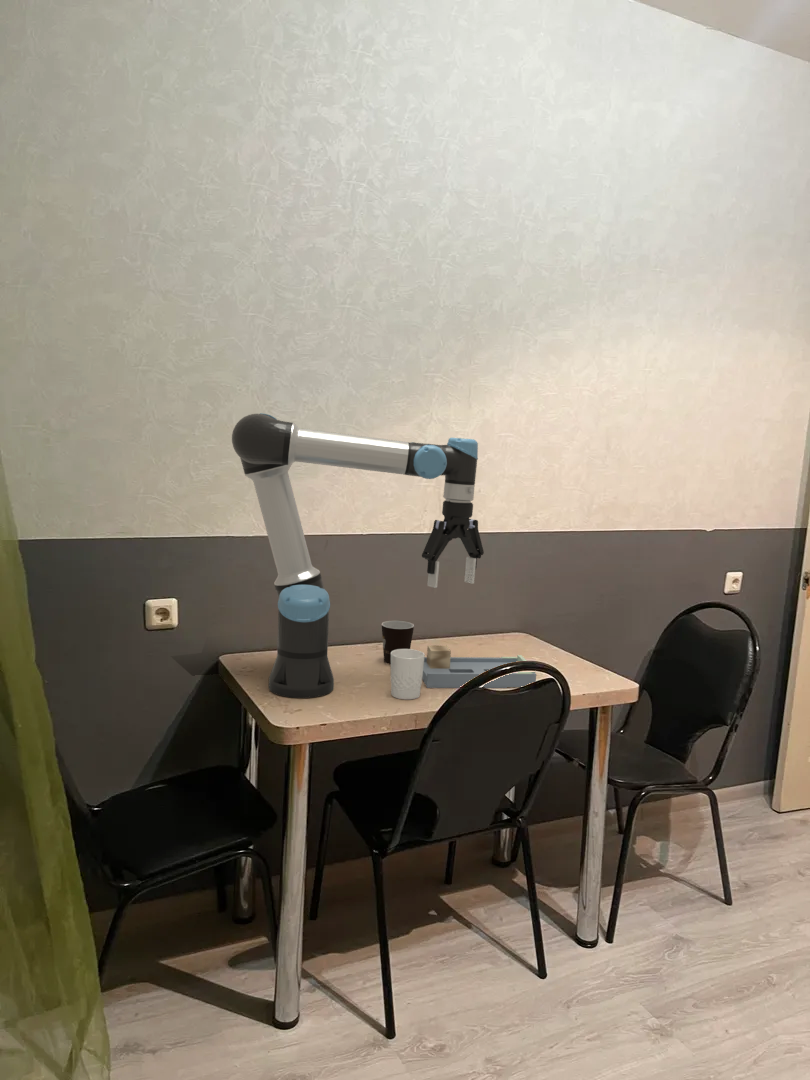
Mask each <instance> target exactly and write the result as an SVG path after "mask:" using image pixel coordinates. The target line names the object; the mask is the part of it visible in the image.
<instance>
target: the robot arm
mask: <svg viewBox="0 0 810 1080" xmlns="http://www.w3.org/2000/svg"><path fill="white" fill-rule="evenodd" d="M232 430H233V431H232V434H231V443H232V448H233V449H234V452H235V454H237V456H238V457H239V458H240V461H241V462H240V463H241V466H242V469H243V472H244V476H245V477H247V478H249V480H251V481H252V482H253V485H254V488H255V489H254V490H255V493H256V496H257V500H258V504H259V507H260V512H261V515H262V519H263V523H264V526H265V530H266V534H267V538H268V541H269V546H270V549H271V553H272V557H273V560H274V565H275V567H276V572H277V577H276V579H275V581H274V582H273V583H274V584H273V585H274V588H275V593H276V595H277V599H278V601H277V608H278V617H277V619H278V621H277V622H278V623H277V648H276V649H277V650H276V652H277V654H276V658H275V660H274V663H273V666H272V668H271V671H270V674H269V676H268V677H269V678H268V690H269V691H270V692H272V693H273V694H275V695H279V696H281V697H287V698H294V699H308V698H309V699H310V698H317V697H322V696H327V695H329V694H330V693H331V692H333V690H334V687H335V686H334V684H335V679H334V675H333V671H332V668H331V664H330V662H329V661H330V660H329V657H328V647H329V645H328V644H329V623H330V621H329V619H330V608H331V602H330V595H329V593H328V591H327V590H326V589H325V586H324V582H323V578H322V574H321V571H320V569H318V568H317V567H314V565H312V561H311V560H312V559H311V557H310V551H309V549H308V546H307V540H306V538H305V533H304V529H303V524H302V522H301V519H300V518H301V517H300V514H299V510H298V506H297V502H296V497H295V495H294V491H293V486H292V484H291V478H290V476H289V470H290V468H291V467H292V465H293V463H295V462H297V463H305V464H314V465H322V466H330V467H339V468H345V469H346V468H347V469H355V470H363V471H370V472H371V471H372V472H379V473H388V474H395V475H405V476H410V477H411V476H412V477H418V478H422V479H426V480H433V479H435V478H436V479H437V478H438V477H440V476H443V477H444V487H443V494H442V495H443V498H444V499H445V500H443V502H442V511H441V514H442V516H443V517H444V519H443V520H439V519H435V520H433V527H432V530H431V533H430V535H429V537H428V539H427V541H426V544H425V547H424V548H423V551H422V554H421V557H422V558H424V559H425V560H427V570H426V572H427V583H426V586H427V587H430V588H433V589H436V588H438V583H439V572H440V571H439V570H440V561H438V559H439V558H440V556H441V555H442V553H443V552H444V550H445V548H447V545H448V544H449V543H450V541H452V540H453V539H460V541H461V542H462V545H463V546H464V548H465V550H466V553H467V554H468V556H466V557H465V566H464V567H465V568H464V569H465V570H464V580H463V581H464V583H469V584H475V577H476V570H477V563H478V559H481V558H482V556H483V555H484V554H485V553H484V552H485V551H484V548H483V544H482V540H481V539H482V538H481V535H480V532H479V531H480V530H479V521H478V519H473V518H472V517H473V514H474V513H473V510H474V504H473V502H472V501H474V498H475V497H474V495H475V486H476V485H475V484H476V477H477V466H478V459H479V458H478V455H479V453H478V452H479V451H478V450H479V447H478V446H479V443H478V441H477V440H476V439H472V438H464V437H463V438H461V437H450V438H449V437H448V440H447V443H446V444H432V443H422V442H415V441H414V442H412V441H411V442H408V441H401V440H396V439H395V440H393V439H386V438H379V437H370V436H363V435H356V434H349V433H342V432H332V431H325V430H318V429H310V428H309V429H308V428H300V427H298V425H297V424H296V423H295V422H292V421H291V422H290V421H284V420H279V419H277V418H276V417H275V416H273V415H271V414H267V413H263V412H261V413H250V414H248V415H246V416H243V417H242V418H241V419H239V421H238V422H237V423H236V424H235V425H234V428H233V429H232Z"/></svg>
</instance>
